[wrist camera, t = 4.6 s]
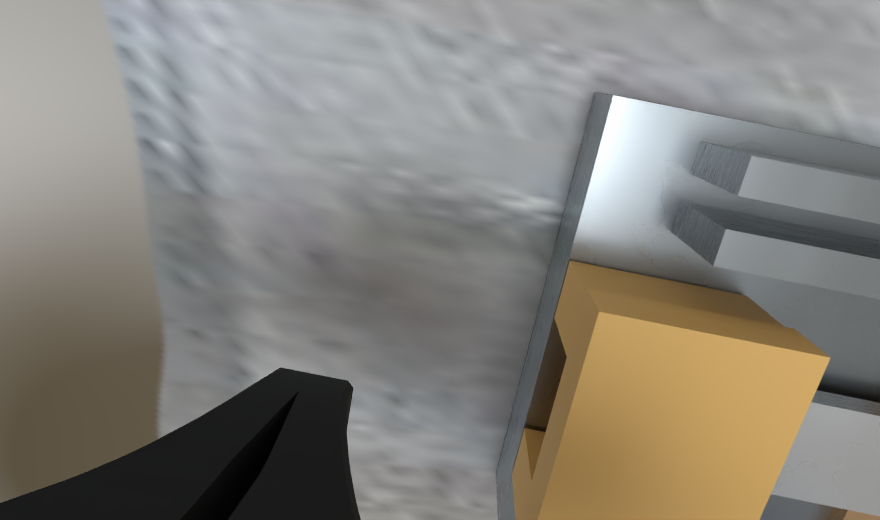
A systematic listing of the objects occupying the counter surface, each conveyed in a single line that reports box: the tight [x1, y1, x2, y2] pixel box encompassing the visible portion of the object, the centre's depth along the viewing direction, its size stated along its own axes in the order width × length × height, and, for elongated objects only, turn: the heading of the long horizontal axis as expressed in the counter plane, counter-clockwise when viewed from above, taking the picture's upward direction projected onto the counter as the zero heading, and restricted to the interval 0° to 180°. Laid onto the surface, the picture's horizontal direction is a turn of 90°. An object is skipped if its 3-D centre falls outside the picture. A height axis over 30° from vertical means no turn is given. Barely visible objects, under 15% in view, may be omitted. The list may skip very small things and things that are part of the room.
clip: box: [512, 261, 830, 520], centre depth 12 cm, size 6×4×3 cm, turn 169°
